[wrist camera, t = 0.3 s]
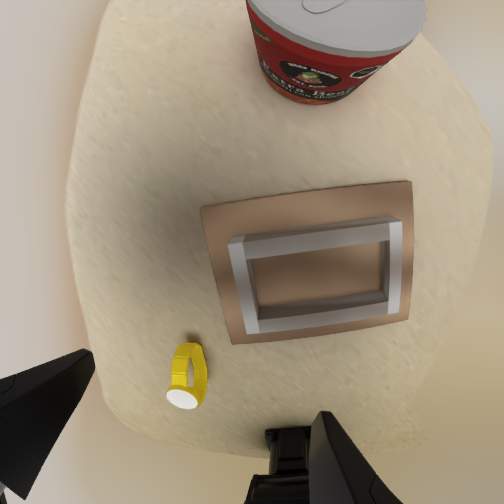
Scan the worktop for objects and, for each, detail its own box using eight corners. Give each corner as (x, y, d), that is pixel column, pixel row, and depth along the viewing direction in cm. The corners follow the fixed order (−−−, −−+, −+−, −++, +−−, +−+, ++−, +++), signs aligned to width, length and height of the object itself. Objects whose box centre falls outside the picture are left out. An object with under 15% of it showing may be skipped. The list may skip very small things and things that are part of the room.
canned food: (246, 91, 17) (213, 22, 7) (275, 9, 15) (270, -83, 4) (348, 122, 17) (419, 88, 7) (369, 38, 15) (429, -32, 4)
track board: (405, 314, 22) (416, 331, 19) (233, 339, 24) (228, 359, 21) (407, 180, 18) (424, 184, 16) (202, 207, 20) (191, 214, 18)
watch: (217, 375, 26) (206, 421, 21) (192, 374, 27) (177, 418, 21) (204, 331, 24) (188, 380, 18) (176, 331, 24) (155, 377, 19)
